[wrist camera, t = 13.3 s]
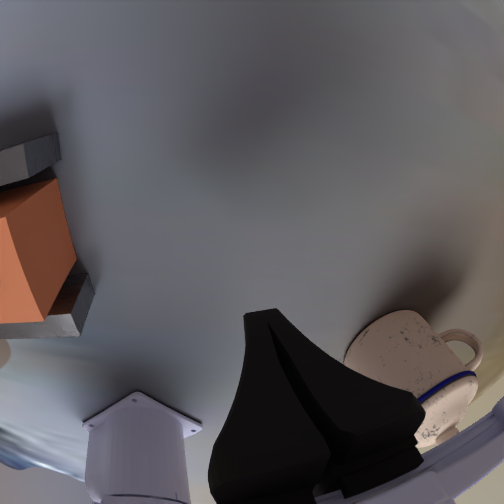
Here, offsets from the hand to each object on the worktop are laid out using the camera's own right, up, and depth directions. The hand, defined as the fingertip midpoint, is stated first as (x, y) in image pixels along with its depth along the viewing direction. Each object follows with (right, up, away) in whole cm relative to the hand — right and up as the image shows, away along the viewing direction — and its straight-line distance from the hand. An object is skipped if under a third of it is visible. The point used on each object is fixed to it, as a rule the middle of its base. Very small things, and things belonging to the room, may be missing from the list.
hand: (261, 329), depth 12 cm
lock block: (-15, +4, +2) cm, 16 cm away
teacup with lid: (+13, -5, +14) cm, 19 cm away
